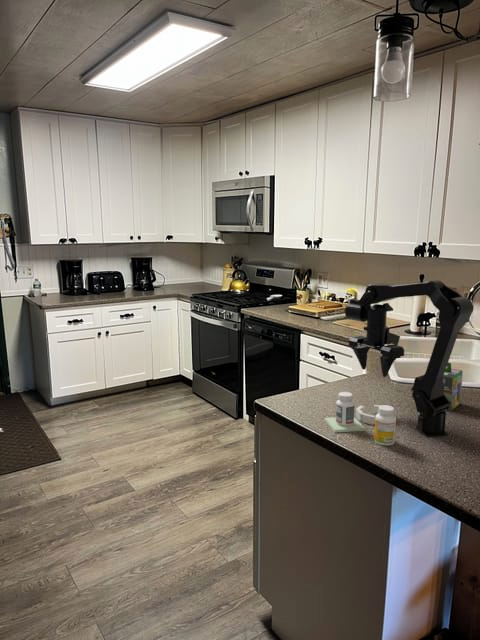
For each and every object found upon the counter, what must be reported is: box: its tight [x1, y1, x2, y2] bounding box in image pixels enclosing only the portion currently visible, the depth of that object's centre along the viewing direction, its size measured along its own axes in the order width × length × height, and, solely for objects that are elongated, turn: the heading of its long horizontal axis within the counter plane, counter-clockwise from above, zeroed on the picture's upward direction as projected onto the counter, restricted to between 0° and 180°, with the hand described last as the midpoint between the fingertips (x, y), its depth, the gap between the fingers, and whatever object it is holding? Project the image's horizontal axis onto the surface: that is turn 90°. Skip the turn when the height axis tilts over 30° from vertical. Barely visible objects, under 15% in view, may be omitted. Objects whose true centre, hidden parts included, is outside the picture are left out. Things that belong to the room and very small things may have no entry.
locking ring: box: [355, 404, 381, 426], centre depth 146 cm, size 10×10×2 cm
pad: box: [324, 416, 366, 434], centre depth 141 cm, size 9×9×1 cm
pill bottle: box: [335, 391, 355, 426], centre depth 140 cm, size 5×5×9 cm
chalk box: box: [443, 361, 463, 412], centre depth 156 cm, size 9×9×15 cm
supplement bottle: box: [373, 404, 397, 446], centre depth 129 cm, size 5×5×10 cm
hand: (374, 372), depth 150 cm, fingers open, 9 cm apart
